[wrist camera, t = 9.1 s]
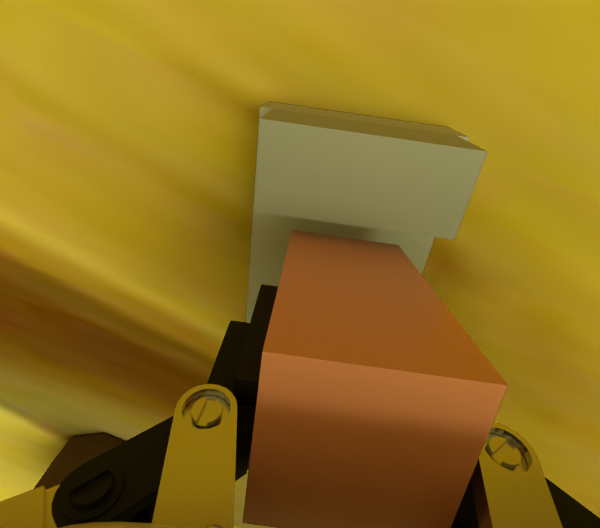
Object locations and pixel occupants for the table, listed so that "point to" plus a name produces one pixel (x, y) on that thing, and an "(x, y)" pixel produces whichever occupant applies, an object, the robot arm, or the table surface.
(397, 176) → the grey notched block
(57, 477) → the beer bottle
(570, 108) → the table surface
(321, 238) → the orange rectangular block
